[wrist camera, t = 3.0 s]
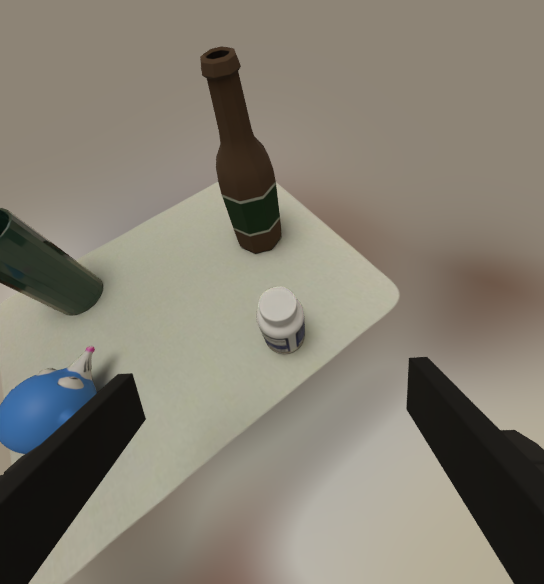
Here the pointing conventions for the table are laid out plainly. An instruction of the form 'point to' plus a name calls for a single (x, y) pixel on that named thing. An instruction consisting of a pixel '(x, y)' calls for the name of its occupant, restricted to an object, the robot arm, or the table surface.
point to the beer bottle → (241, 157)
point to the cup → (44, 269)
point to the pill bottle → (281, 320)
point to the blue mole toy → (45, 403)
